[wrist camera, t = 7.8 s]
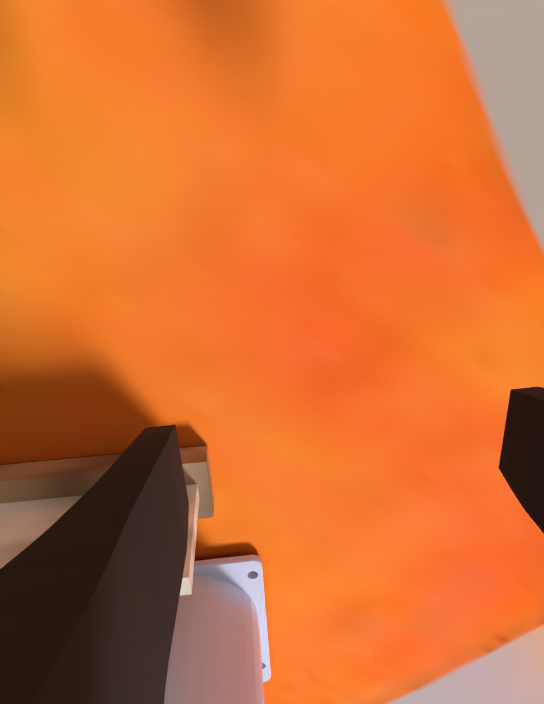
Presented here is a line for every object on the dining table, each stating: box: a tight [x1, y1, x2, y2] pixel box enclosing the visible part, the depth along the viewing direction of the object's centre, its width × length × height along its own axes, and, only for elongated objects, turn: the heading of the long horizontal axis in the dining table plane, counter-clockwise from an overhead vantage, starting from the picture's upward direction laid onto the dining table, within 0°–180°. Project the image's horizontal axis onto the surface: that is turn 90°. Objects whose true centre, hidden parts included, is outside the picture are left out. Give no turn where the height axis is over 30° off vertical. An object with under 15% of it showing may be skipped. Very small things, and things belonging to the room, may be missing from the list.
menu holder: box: [0, 445, 214, 596], centre depth 18 cm, size 10×3×6 cm, turn 93°
